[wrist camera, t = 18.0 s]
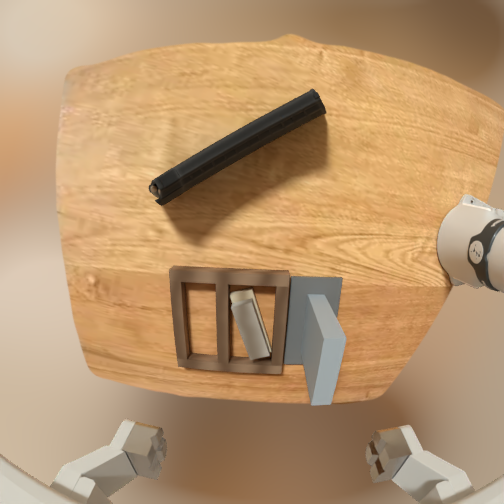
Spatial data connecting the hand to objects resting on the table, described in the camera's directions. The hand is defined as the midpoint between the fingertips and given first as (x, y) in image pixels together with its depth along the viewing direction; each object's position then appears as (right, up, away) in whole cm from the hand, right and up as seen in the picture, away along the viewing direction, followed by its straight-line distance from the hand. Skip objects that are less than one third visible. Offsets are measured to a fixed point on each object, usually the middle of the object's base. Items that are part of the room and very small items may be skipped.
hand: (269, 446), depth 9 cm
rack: (-5, -5, +42) cm, 42 cm away
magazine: (-3, +24, +35) cm, 43 cm away
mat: (+10, -6, +41) cm, 43 cm away
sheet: (+10, -6, +41) cm, 42 cm away
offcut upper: (-1, -6, +40) cm, 41 cm away
